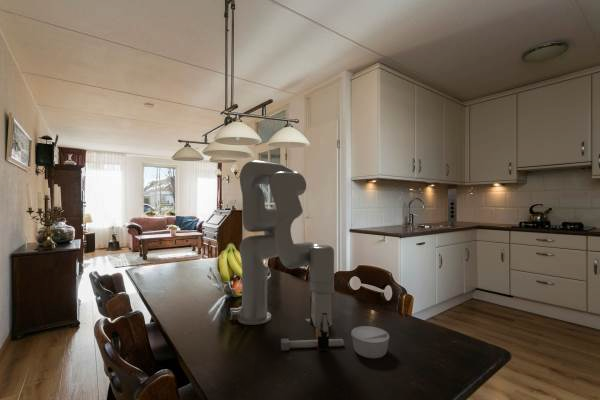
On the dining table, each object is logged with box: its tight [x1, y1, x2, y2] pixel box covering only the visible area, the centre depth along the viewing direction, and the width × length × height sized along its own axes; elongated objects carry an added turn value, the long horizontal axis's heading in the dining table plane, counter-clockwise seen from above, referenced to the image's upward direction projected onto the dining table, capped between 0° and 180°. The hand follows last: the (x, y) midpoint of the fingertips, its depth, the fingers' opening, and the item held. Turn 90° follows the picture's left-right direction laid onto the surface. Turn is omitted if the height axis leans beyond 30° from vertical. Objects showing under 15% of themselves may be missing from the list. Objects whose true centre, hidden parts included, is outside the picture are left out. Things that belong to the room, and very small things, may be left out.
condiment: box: [304, 291, 333, 327], centre depth 112 cm, size 7×8×12 cm
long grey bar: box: [280, 338, 345, 351], centre depth 93 cm, size 20×3×2 cm, turn 95°
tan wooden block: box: [315, 324, 323, 340], centre depth 93 cm, size 3×5×6 cm, turn 5°
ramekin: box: [350, 325, 390, 359], centre depth 90 cm, size 11×11×5 cm
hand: (321, 344), depth 93 cm, fingers closed on tan wooden block, 4 cm apart
